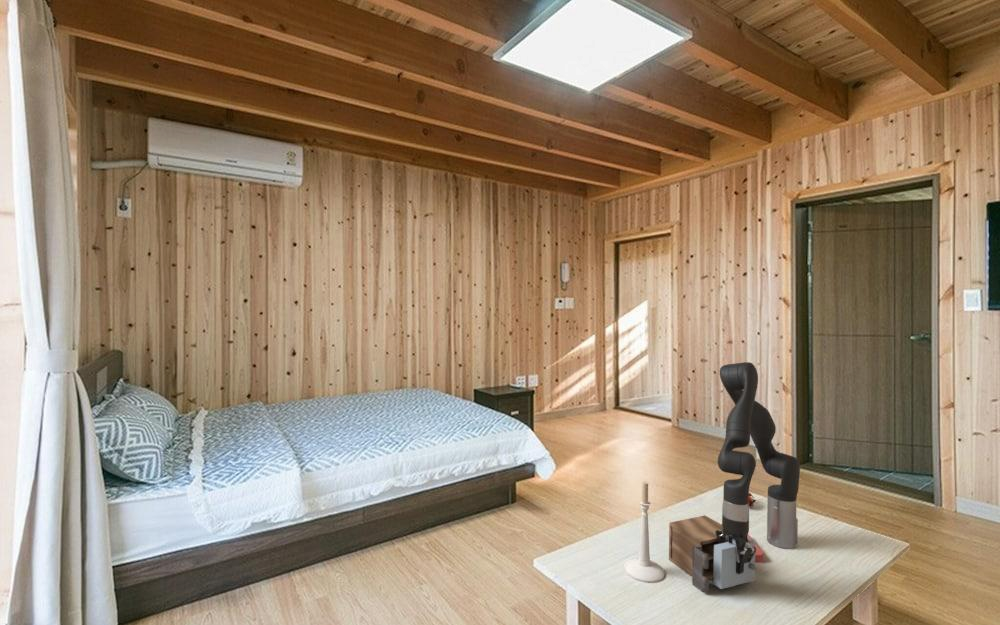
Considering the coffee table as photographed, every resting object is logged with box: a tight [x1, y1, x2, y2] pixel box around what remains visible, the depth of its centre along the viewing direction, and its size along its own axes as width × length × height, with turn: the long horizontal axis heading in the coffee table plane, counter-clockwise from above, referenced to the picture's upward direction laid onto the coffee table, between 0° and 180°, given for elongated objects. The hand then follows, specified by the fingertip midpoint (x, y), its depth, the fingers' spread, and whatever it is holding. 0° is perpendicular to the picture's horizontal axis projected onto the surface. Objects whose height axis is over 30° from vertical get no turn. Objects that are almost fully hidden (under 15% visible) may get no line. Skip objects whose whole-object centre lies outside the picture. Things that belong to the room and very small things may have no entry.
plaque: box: [747, 534, 765, 564], centre depth 169 cm, size 18×4×15 cm
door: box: [712, 539, 757, 590], centre depth 145 cm, size 4×14×12 cm, turn 111°
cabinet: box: [668, 514, 723, 593], centre depth 154 cm, size 20×20×13 cm
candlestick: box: [623, 481, 666, 584], centre depth 154 cm, size 13×13×30 cm
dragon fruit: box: [749, 492, 756, 508], centre depth 205 cm, size 8×8×12 cm
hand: (734, 570), depth 146 cm, fingers closed on door, 3 cm apart
